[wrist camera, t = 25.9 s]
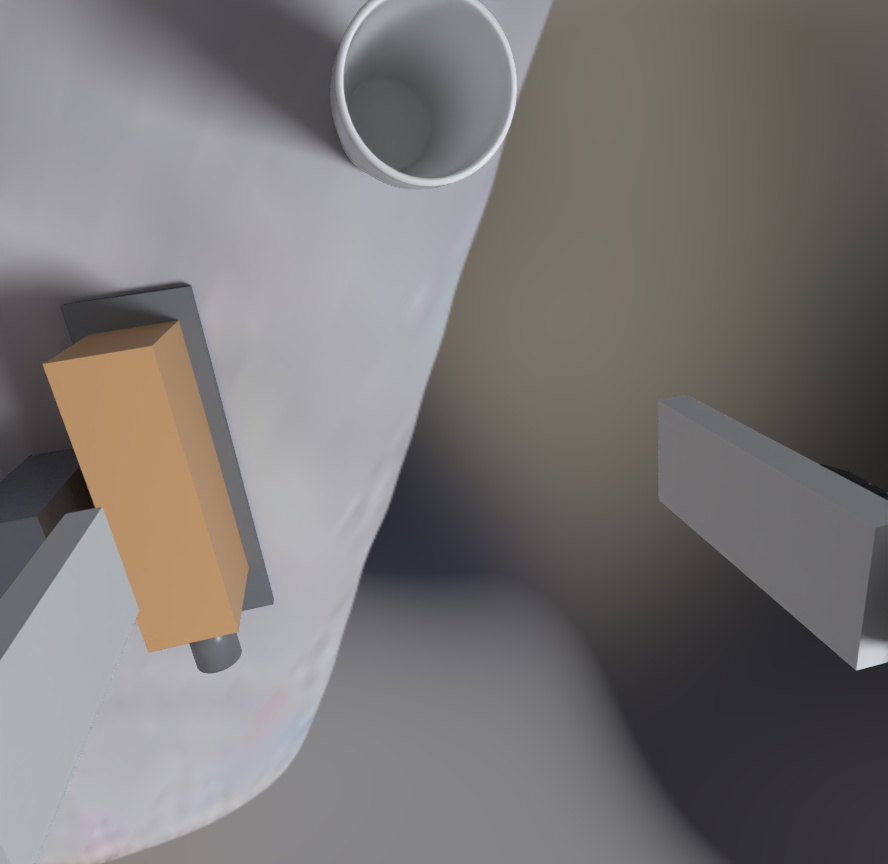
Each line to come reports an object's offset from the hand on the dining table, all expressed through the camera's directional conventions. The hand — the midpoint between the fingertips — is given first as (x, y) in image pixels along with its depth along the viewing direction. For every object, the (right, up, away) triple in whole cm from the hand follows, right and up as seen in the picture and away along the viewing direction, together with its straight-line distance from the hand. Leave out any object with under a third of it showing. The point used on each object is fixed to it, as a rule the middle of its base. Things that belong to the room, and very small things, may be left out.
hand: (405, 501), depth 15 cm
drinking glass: (-3, +19, +22) cm, 29 cm away
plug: (-16, -2, +26) cm, 30 cm away
